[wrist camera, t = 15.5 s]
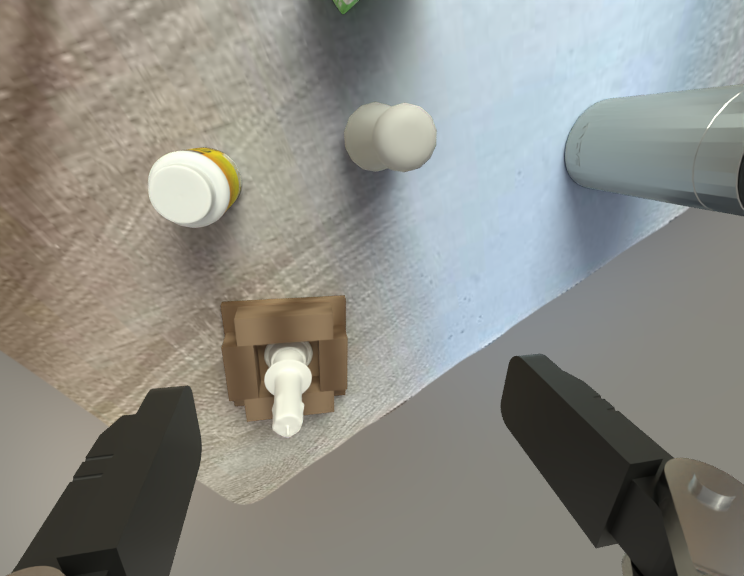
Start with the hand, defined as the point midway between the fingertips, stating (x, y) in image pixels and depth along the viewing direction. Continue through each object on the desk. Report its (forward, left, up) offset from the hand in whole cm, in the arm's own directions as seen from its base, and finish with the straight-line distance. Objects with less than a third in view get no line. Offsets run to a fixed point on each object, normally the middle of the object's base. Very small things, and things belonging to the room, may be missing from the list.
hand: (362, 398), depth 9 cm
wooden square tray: (+3, +17, -30) cm, 35 cm away
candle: (+3, +17, -29) cm, 34 cm away
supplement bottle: (+9, -2, -30) cm, 32 cm away
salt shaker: (-6, -6, -30) cm, 31 cm away
